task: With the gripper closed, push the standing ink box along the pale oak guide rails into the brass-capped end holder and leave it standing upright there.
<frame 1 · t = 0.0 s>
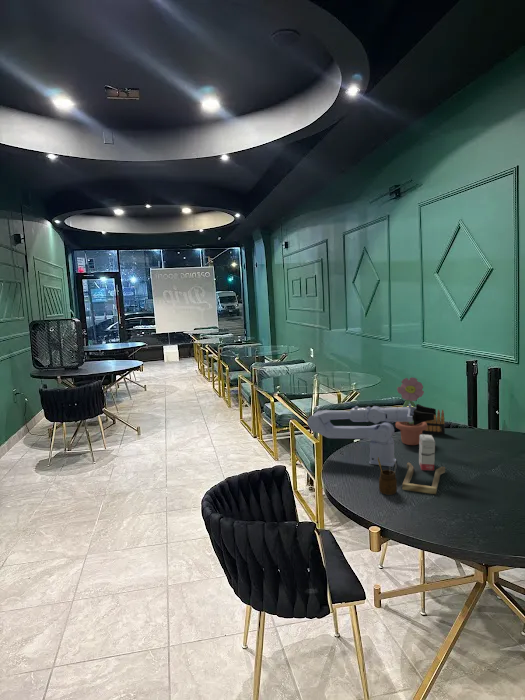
hand: (434, 414, 173), 22 cm above the table, tool horizontal, fingers open, 7 cm apart
ammunition clip: (432, 433, 219), on the table
end holder: (422, 481, 165), on the table
ink box: (426, 467, 178), on the table
utensil holder: (387, 492, 157), on the table
decorative flower: (410, 443, 206), on the table
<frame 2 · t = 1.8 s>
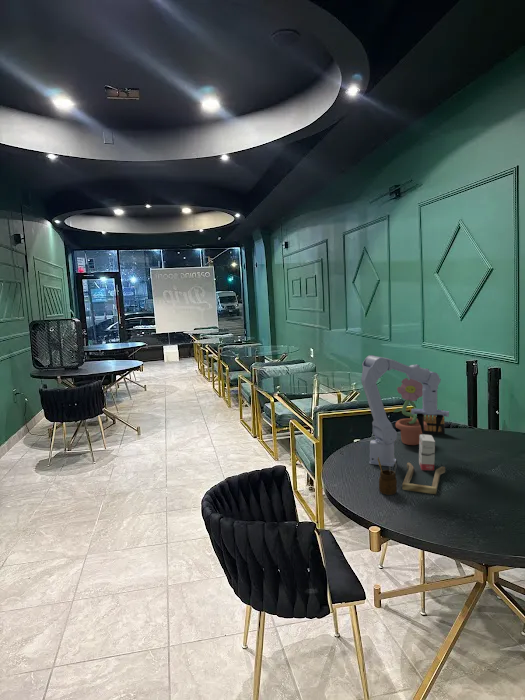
hand: (429, 432, 187), 10 cm above the table, tool pointing down, fingers open, 5 cm apart
nothing on the table moved.
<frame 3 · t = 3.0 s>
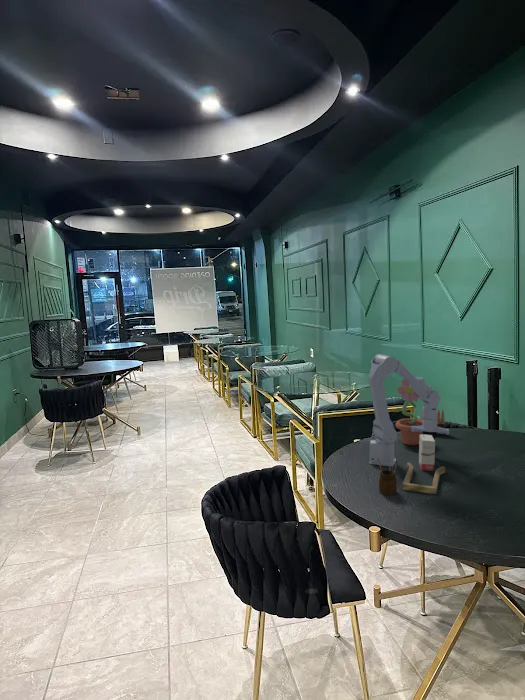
hand: (429, 449, 188), 3 cm above the table, tool pointing down, fingers closed
nothing on the table moved.
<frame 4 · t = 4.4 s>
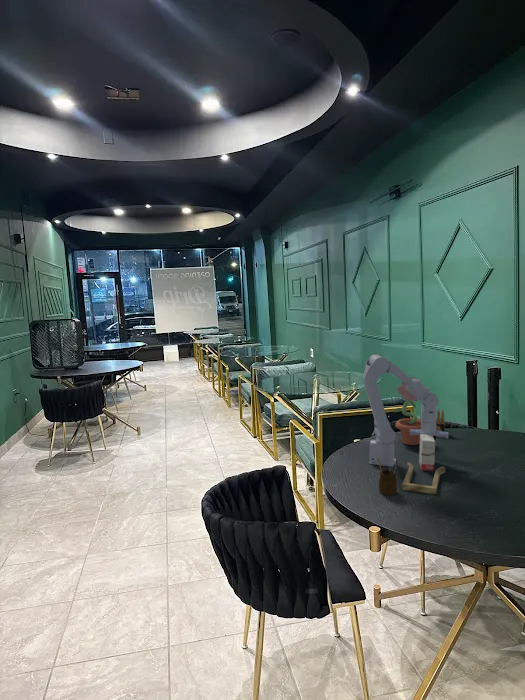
hand: (428, 453, 184), 3 cm above the table, tool pointing down, fingers closed
ink box: (426, 467, 178), on the table, touching gripper
everything else where it was.
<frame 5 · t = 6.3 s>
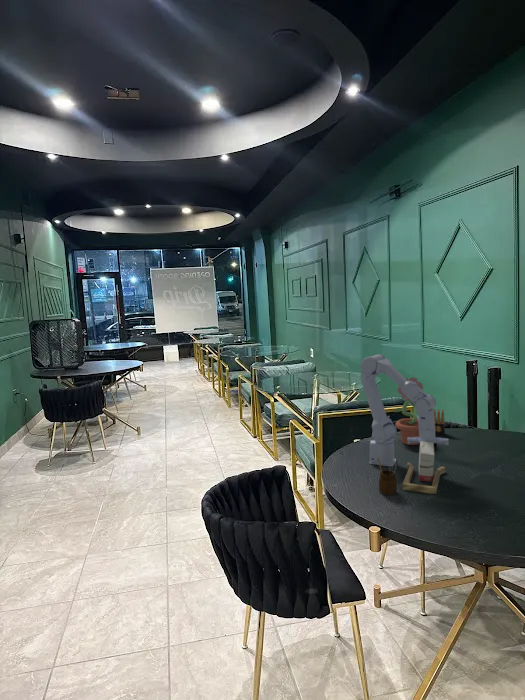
hand: (428, 462, 172), 4 cm above the table, tool pointing down, fingers closed, pressing on ink box
ink box: (425, 474, 168), point 1 cm above the table, touching gripper
everything else where it was.
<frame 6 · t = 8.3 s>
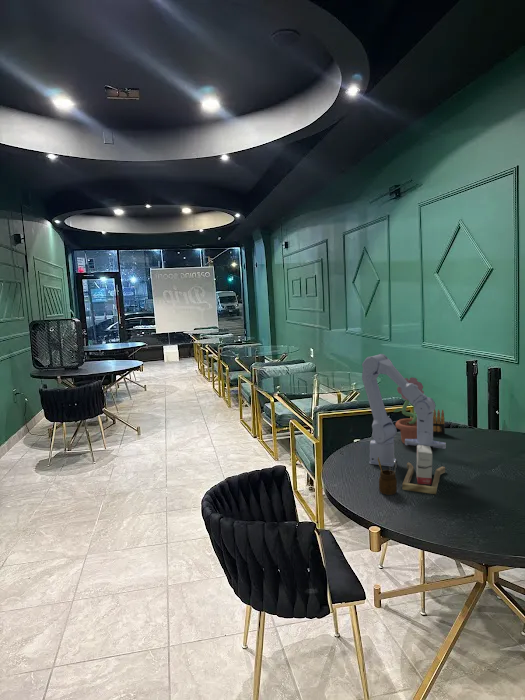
hand: (424, 464, 172), 3 cm above the table, tool pointing down, fingers closed
ink box: (423, 480, 166), resting in end holder
everything else where it was.
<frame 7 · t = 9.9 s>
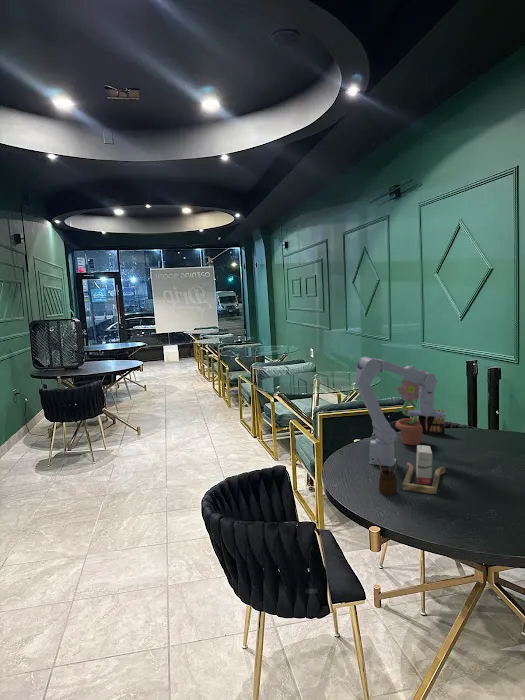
hand: (426, 434, 185), 10 cm above the table, tool pointing down, fingers closed
nothing on the table moved.
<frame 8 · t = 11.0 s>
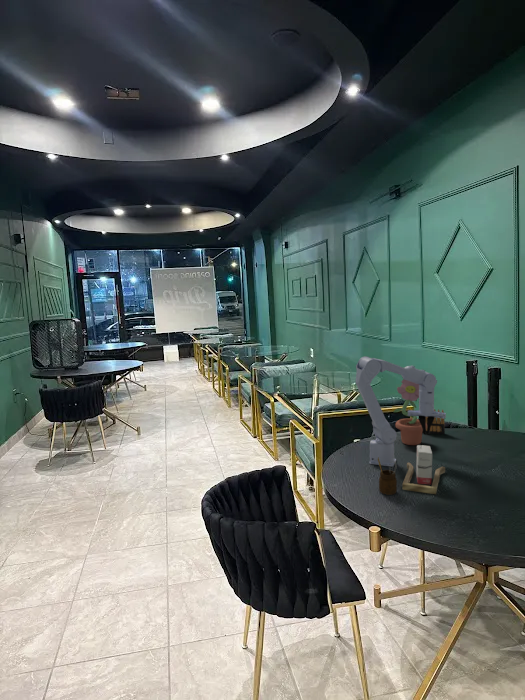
hand: (426, 434, 185), 10 cm above the table, tool pointing down, fingers closed
nothing on the table moved.
at the end: ink box inside the target area on the end holder (3.0 cm from its centre), point 0.0 cm above the end holder's base; ink box tilted 0°; ink box moved 13.5 cm from its start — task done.
